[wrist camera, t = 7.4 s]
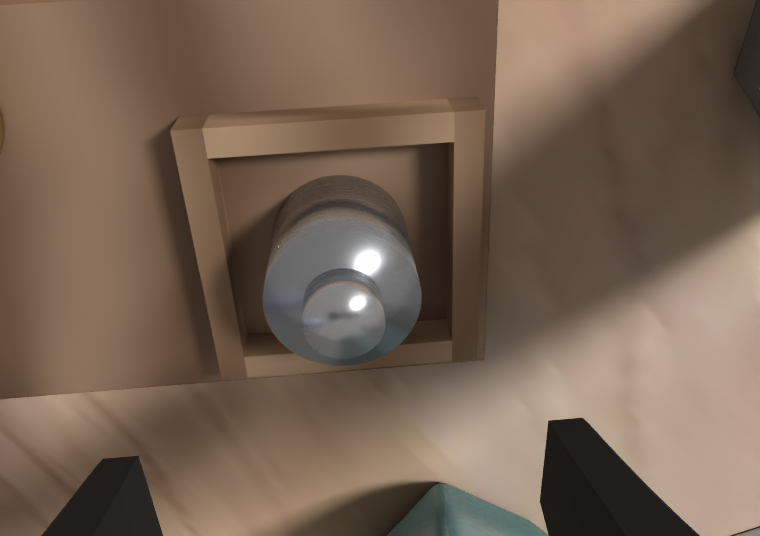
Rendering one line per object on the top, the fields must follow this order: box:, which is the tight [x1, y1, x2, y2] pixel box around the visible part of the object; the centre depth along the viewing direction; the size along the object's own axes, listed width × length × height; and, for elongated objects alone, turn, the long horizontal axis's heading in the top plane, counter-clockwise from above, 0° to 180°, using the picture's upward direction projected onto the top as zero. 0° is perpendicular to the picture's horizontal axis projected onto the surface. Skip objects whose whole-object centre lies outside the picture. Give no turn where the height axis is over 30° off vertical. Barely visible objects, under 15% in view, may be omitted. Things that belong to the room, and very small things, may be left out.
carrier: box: [0, 0, 498, 399], centre depth 19 cm, size 18×12×2 cm, turn 92°
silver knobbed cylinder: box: [263, 175, 422, 366], centre depth 18 cm, size 4×4×5 cm
